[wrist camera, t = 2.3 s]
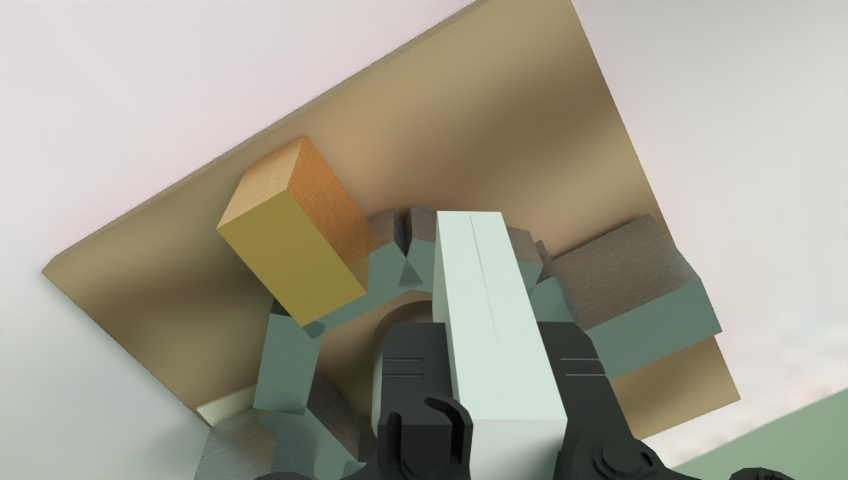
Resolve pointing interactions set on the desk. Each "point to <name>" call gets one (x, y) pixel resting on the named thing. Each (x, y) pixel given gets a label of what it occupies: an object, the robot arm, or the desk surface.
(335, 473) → the ring nut
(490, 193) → the board
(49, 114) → the desk surface
